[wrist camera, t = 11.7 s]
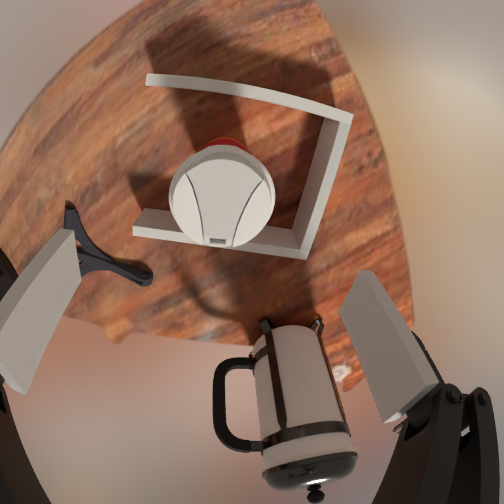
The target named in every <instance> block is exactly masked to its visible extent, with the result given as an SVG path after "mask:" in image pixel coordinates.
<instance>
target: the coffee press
mask: <svg viewBox="0 0 504 504" xmlns="http://www.w3.org/2000/svg"><path fill="white" fill-rule="evenodd" d="M259 323H260V325H261V327H262V330H263V332H264V335H262V336H261V337H260V338H259V339H258V340H257V342H256V343H255V345H254V348H253V352H251V353H250V354H249V358H246V357H238V358H230V359H227V360H224V361H223V362H221V363H220V364H219V365H218V367H217V368H216V370H215V373H214V379H213V424H214V429H215V432H216V435H217V437H218V438H219V440H220V441H221V442H222V443H223V444H224V445H225V446H226V447H228V448H230V449H232V450H234V451H238V452H243V453H249V452H256V451H261V455H262V456H263V460H264V470H263V473H262V477H263V479H265V480H266V481H267V483H268V484H269V486H270V487H272V488H273V489H275V490H278V491H285V492H293V491H303V490H308V491H311V492H310V493H309V494H308V496H307V499H308V501H309V502H310V503H313V504H317V503H320V502H321V501H323V499H324V495H325V494H324V493H323V492H322V491H320V490H318V489H320V488H321V487H323V486H326V485H330V484H333V483H336V482H338V481H340V480H342V479H344V478H345V477H347V476H349V475H350V474H351V473H352V472H353V470H354V468H355V465H356V460H357V459H358V455H357V450H358V447H357V446H356V445H355V446H352V444H351V440H350V437H351V434H350V430H349V427H348V424H347V422H346V418H345V413H344V410H343V406H342V403H341V400H340V396H339V393H338V390H337V386H336V383H335V380H334V377H333V373H332V370H331V367H330V364H329V361H328V357H327V354H326V351H325V348H324V345H323V341H322V338H321V334H322V331H323V329H324V324H323V323H322V321H321V320H320V319H317V320H315V321H314V322H313V324H312V326H311V327H310V328H307V327H304V326H298V325H289V326H282V327H278V328H274V326H273V325H272V323H271V321H270V319H269V318H268V317H265V318H263V319H261V320H259ZM319 324H320V326H319V328H318V335H317V334H316V333H315V332H314V331H315V329H316V327H317V326H318V325H319ZM232 369H250V370H253V375H254V377H255V385H256V395H257V404H258V414H259V423H260V431H261V441H249V440H243V439H239V438H237V437H235V436H233V434H231V432H230V431H229V429H228V427H227V424H226V408H225V376H226V374H227V373H228V372H229V371H230V370H232Z"/></svg>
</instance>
